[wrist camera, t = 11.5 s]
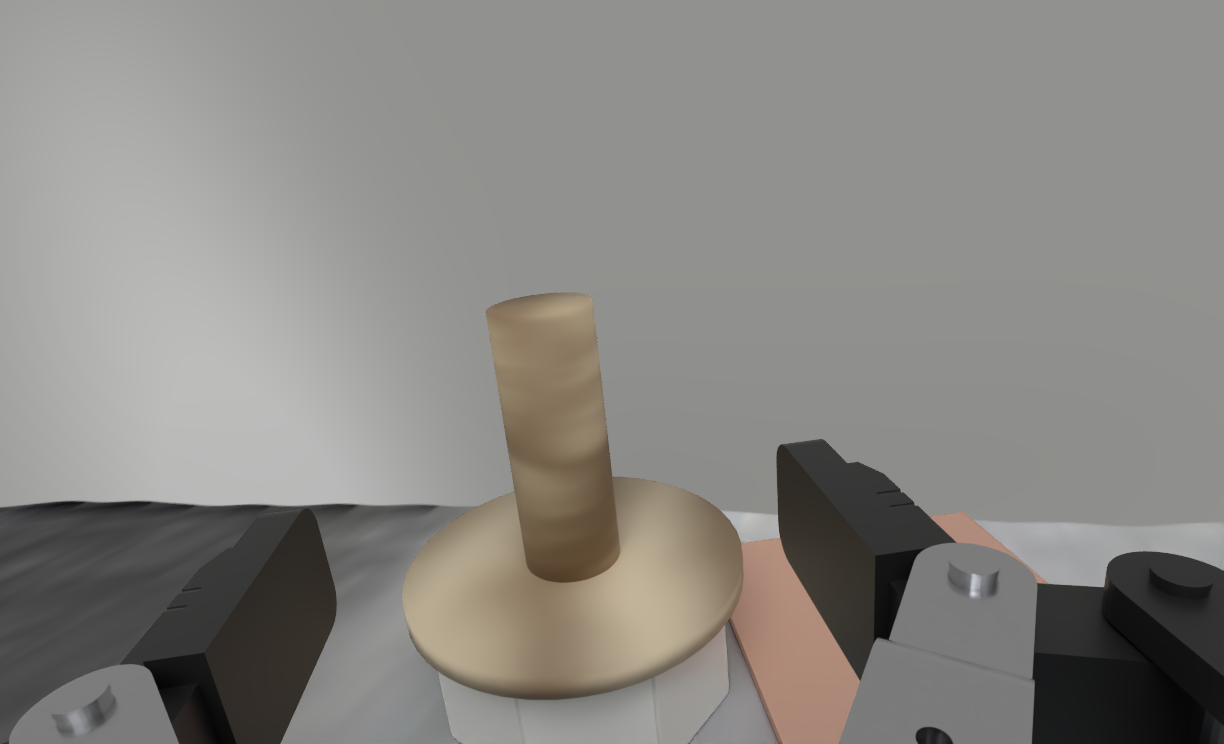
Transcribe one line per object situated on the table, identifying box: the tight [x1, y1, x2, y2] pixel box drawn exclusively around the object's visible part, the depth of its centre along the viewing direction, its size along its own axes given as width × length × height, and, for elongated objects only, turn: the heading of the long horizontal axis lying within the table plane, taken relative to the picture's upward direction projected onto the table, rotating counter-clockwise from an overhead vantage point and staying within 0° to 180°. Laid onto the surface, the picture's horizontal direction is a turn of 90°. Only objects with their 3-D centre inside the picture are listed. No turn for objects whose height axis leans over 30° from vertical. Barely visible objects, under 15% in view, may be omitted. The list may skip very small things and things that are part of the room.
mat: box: [729, 512, 1048, 744], centre depth 26 cm, size 13×14×1 cm
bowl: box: [438, 626, 729, 744], centre depth 26 cm, size 10×10×4 cm
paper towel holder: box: [402, 293, 744, 700], centre depth 23 cm, size 12×12×10 cm
